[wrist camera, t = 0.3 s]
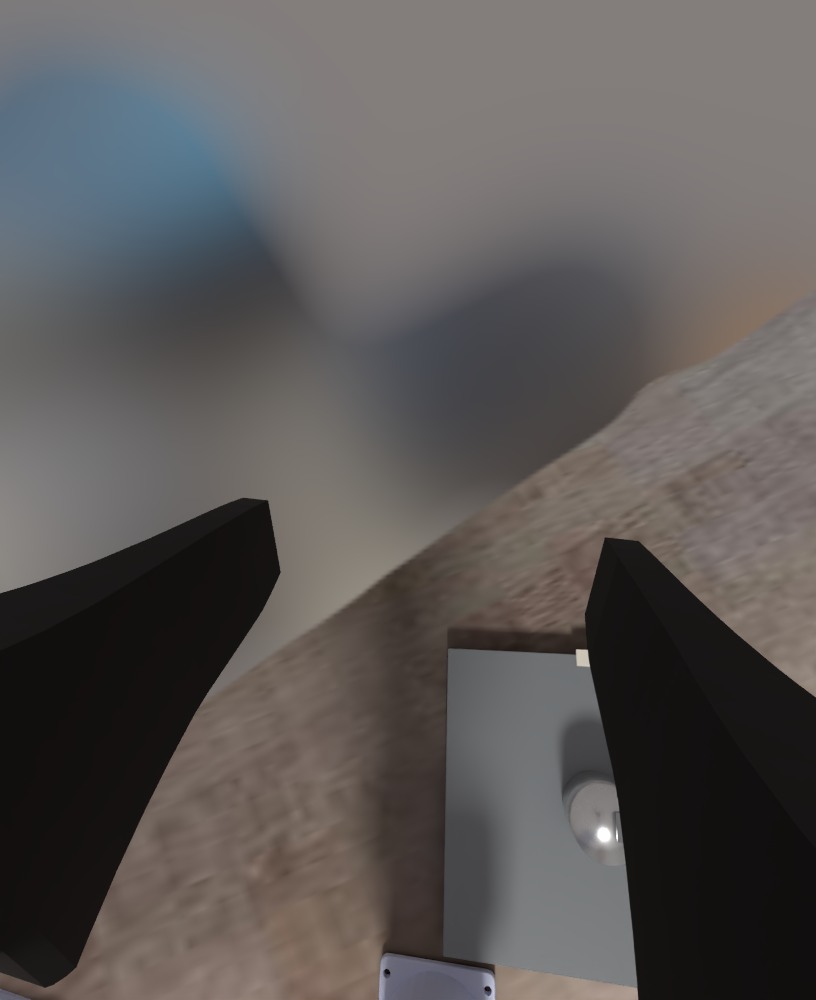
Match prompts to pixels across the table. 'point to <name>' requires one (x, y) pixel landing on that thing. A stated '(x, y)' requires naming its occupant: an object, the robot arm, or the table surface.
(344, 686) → the table surface
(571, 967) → the board
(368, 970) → the table surface
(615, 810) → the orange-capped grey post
